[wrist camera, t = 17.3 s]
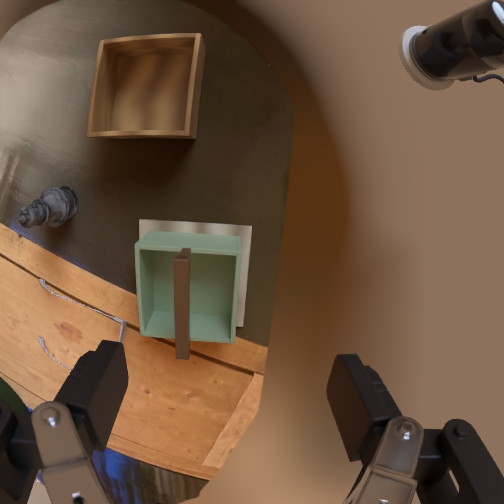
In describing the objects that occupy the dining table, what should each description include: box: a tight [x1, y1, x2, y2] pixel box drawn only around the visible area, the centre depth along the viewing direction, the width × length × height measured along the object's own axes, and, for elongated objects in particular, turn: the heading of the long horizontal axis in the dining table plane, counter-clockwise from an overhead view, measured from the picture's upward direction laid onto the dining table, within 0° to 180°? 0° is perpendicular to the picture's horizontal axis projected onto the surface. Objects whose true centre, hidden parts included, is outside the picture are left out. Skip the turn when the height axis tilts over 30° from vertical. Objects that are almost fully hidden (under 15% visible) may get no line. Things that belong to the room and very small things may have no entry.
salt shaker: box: [19, 186, 78, 228], centre depth 34 cm, size 6×6×12 cm
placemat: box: [139, 219, 252, 327], centre depth 44 cm, size 16×16×1 cm
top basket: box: [135, 231, 242, 360], centre depth 39 cm, size 13×13×11 cm
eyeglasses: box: [38, 279, 127, 370], centre depth 45 cm, size 15×18×4 cm
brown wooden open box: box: [87, 33, 206, 139], centre depth 33 cm, size 13×13×7 cm
